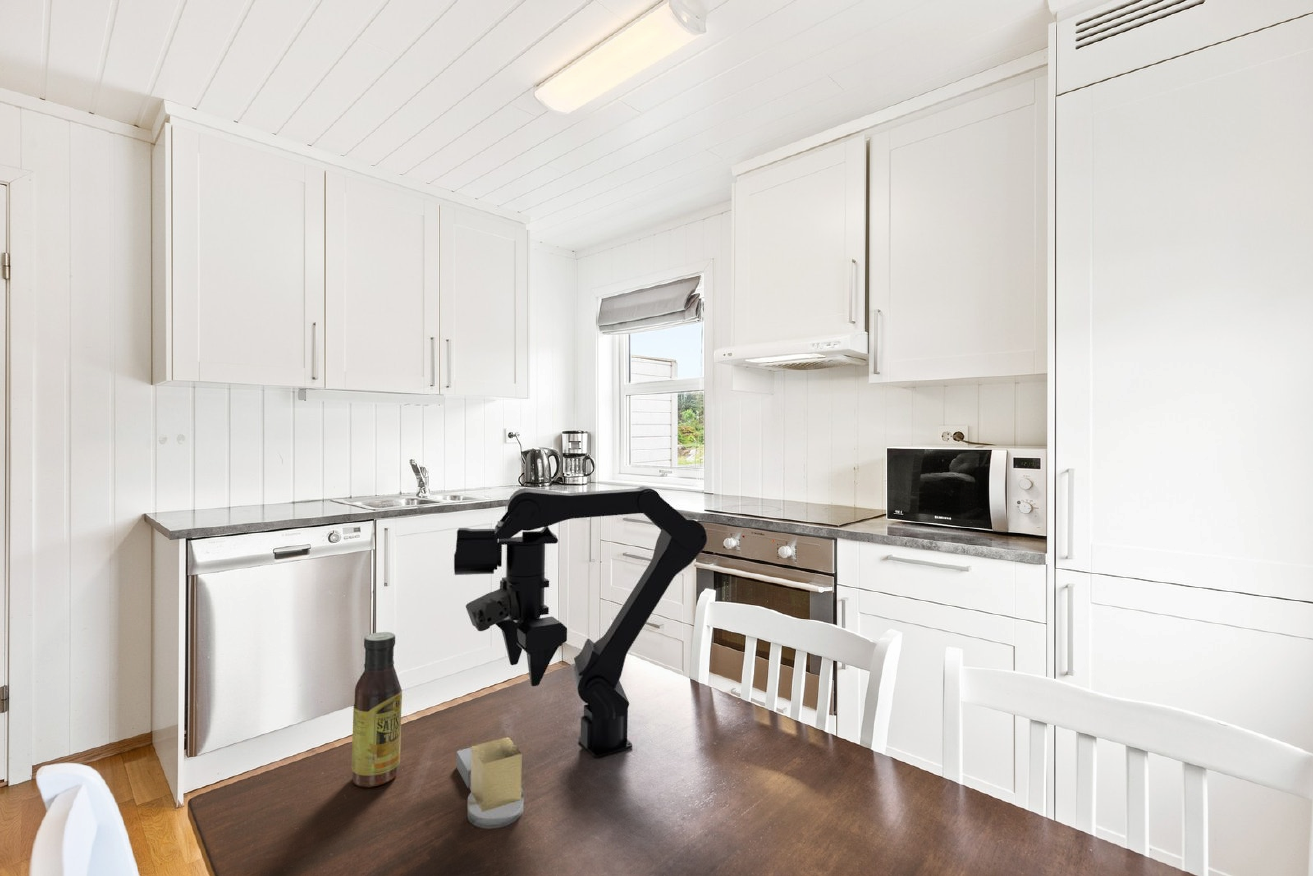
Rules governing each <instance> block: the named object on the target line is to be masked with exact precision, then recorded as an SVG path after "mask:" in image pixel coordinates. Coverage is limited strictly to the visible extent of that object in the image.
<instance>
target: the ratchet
mask: <svg viewBox="0 0 1313 876" xmlns="http://www.w3.org/2000/svg"><path fill="white" fill-rule="evenodd" d="M455 764H456V769H457V771H458V772H459V775H460V776H461V779H462V780H463V782H464V784H465V785H466V787H467V789H468V788H469V790H470V791H471V747H468V748H464V749H459V750H457V751H456V763H455ZM524 796H525V795H524V789H523V788H522V787H521V800H519V801H516V802H513V803H509V804H506V805H503V806H500V807H497V808H494V809H490V810H487V811H484V812H482V811H481V809H480V807H479V805H478V804H477V802H476V800H475V798H474V796H473V795H472V793H471V792H470V793H469V794H468V797H467V819H468V821H469V823H470V824H471V825H473V826H475V827H478V828H481V829H488V830H489V829H490V830H491V829H498V828H503V827H506V826H508V825H511V824H513V823H514V822H515V821H518V820H519V818H520V817H521V816H522V814H523V812H524V800H525V798H524Z"/></svg>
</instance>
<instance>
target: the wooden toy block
mask: <svg viewBox="0 0 1313 876" xmlns="http://www.w3.org/2000/svg"><path fill="white" fill-rule="evenodd" d="M470 748H471V790H470V793H472V795H473V796H474V798H475V800H476V802H477V804H478V805H479V807H480V809H481V811H482V812H484V811H487V810H490V809H494V808H497V807H500V806H503V805H506V804H509V803H513V802H516V801H519V800H521V788H522V763H523V762H522V757H523V756H522V755H523V754H522V753H523V752H521V751H520V749H519V748H518V747H517V745H516V744H515V743H514V741H512V739H511V738H510V736H506V737H503V738H499V739H498V738H497V739H494V740H491V741H488V742H484V743H478V744H476V745H472V746H471V747H470Z"/></svg>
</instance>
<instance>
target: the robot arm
mask: <svg viewBox="0 0 1313 876" xmlns="http://www.w3.org/2000/svg"><path fill="white" fill-rule="evenodd" d="M506 508H507V509H506V513H505V514H504V515H503V516H502V517H501V518H500V520H498V521H497V524H496V525H495V527H494V528H469V527H459V528H458V529H457V531H456V541H455V542H456V545H455V552H454V554H453V555H454V556H453V565H454V566H453V570H454V571H453V572H454V576H459V575H461V576H463V575H465V576H467V575H468V576H469V575H493V574H495V570H498V567H499V568H501V567H502V557H503V550H502V549H503V545H504V546H505V545H506V558H505V559H506V567H505V568H506V572H505V573H506V574H505V577H501V580H499V581H500V582H499V588H498V589H496V590H493V591H491V592H489V593H486V594H483V595H482V596H480V597H477V598H476V599H474V600H472V601H470V602H467V604H465V608H466V611H467V614H468V616H469V619H470V622H471V624H472V626H473V627H475V629H476V630H477V632H484V631H486V630H489V629H490V627H491V626H493V625H496V627H498V628H499V629H500V631H501V634H502V637H503V641H504V644H505V648H506V649H505V650H506V652H507V657H508V661H509V665H511V666H516V665H518V663H519V661H520V658H521V654H522V651H524V652H525V653H526V659H527V667H528V674H529V675H528V677H529V682H530V686H531V687H536V686H539V685H540V683H541V681H542V679H543V677H544V676H545V674H546V671H547V669H548V667H549V665H550V663H551V661H552V659H553V658H554V656H555V654H556V653H557V651H558V649H559V647H561V646H563V644H565V643H567V641H568V628H567V626H565V625H564V623H562V622H561V621H560V620H558V618H557V619H556V618H555V617H554V616H545V615H549V612H550V610H549V609H550V607H548V606H547V605H545V588H550V579H548V578H546V576H545V574H546V572H545V571H546V570H545V568H546V567H545V566H546V545H551V544H553V545H554V544H557V543H558V542H559V540H558V537H557V535H556V534H555V533H554V532H552V531H551V530H550V527H549V526H552V525H555V524H559V523H562V522H564V521H568V520H574V519H585V518H597V517H611V516H626V515H637V514H643V515H644V516H645V517H647V519H648V520H650V521H651V523H653V524H654V525H655V526H656V527H657V528H658V529H659V530H660V532H659V535H658V537H657V539H656V542H655V546H654V551H653V555H652V558H651V560H650V563H649V564H648V566H647V567H646V569H645V570H644V572H643V574H642V575H641V577H640V578H639V580H638V581H637V583H636V585H634V586H635V587H633V589H632V591H631V592H630V594H629V596H628V598H627V599H626V601H625V602H624V603H623V606H622V607H621V609H620V610H619V612H618V613H617V615H616V616H615V618H614V620H613V621H612V623H611V625H610V626H609V627H608V629H607V631H606V632H605V634H604V635H603V636H602V637H600V638H599V639H598V640H597V641H595V642H594V641H593V640H592V639H590V638H587V639H586V641H585V642H584V644H583V647H582V649H581V651H580V652H579V654H578V655H576V656H575V657H574V658H573V661H574V667H573V670H572V671H573V678H574V683H575V686H576V689H577V693H578V696H579V697H580V699H581V701H582V702H584V703H585V704H584V705H583V715H582V716H581V717H580V736H579V737H578V742H580V743H581V745H583V747H584V748H585V749H586V750H587V751H588V752H589V753H590V754H591V755H592V756H593V757H594V758H597V759H599V758H602V757H605V756H609V755H612V754H615V753H620V752H621V751H625V750H628V749H632V748H633V743H632V742H631V741H630V739H628V726H629V725H628V724H629V723H628V718H629V716H628V715H629V714H628V713H629V706H630V702H629V700H628V697H627V695H626V692H625V690H624V687H623V686H622V685H623V684H621V681H620V679H621V677H622V673H623V669H624V666H625V661H626V657H627V654H628V653H629V650H630V649H631V647H632V645H634V643H635V641H636V640H637V638H638V636H639V634H640V633H641V632H642V630H643V628H644V626H645V625H646V624H647V621H648V620H649V618H650V617H651V615H652V613H653V612H654V610H655V609H656V607H657V605H658V604H659V602H660V601H661V600H662V598H663V596H664V594H665V593H666V591H667V590H668V587H669V586H670V585H671V583H672V582H673V579H675V577H676V576H677V575H678V574H679V573H681V572H682V571H683V570H684V569H686V568H687V567H689V566H690V565H691V564H692V563H693V562H694V561H695V559H696V558H697V557H698V556H699V555H700V554H701V553H702V551H703V550H704V549H705V547H706V545H707V542H708V536H707V531H706V529H705V527H704V525H703V524H701V523H700V521H697V520H695V519H693V518H692V517H690V516H687V515H686V514H681V513H680V512H679V511H677V510H676V508H674V507H673V506H672V505H670V503H668V502H667V501H666V500H665V499H664V498H662V497H661V496H660V494H659V492H657V490H655V489H653V488H651V487H648V486H643V485H642V486H640V487H636V488H624V489H622V488H621V489H611V490H607V489H606V490H594V491H582V492H581V491H579V492H560V491H555V490H548V489H541V488H539V489H538V488H529V487H527V488H526V487H523V488H520V489H517V490H516V491H514V492H513V494H511V496H510V497H509V499H508V501H507V507H506ZM541 528H542V529H541ZM538 529H541V530H538ZM534 530H537V531H534ZM520 532H522V534H521V536H516V535H517V534H519V533H520ZM541 616H545V617H541Z"/></svg>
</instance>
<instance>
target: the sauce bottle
mask: <svg viewBox="0 0 1313 876" xmlns="http://www.w3.org/2000/svg"><path fill="white" fill-rule="evenodd" d="M395 645H396V634H394V633H393V632H390V631H389V632H388V631H383V632H382V631H381V632H374V633H370V634H368V635H365V636H364V639H363V647H364V649H365V650H364V651H365V653H364V655H365V657H364V664H363V666H364V667H363V668H364V670H363V673H362V674H361V675H360V676H359V678H358V680H357V683H356V684H355V689H354V704H353V710H352V711H353V712H352V713H353V715H352V743H351V767H350V769H351V772H352V782H353V784H355V785H356V786H358V787H364V788H373V787H377V786H382V785H384V784H386V783H388V782H390V781H392V780H394V779H395V778H396V776H397V775H398V772H399V768H400V767H399V766H400V764H401V763H400V762H401V744H402V743H401V742H402V741H401V740H402V738H401V737H402V736H401V735H402V733H401V732H402V701H403V700H402V699H403V690H402V687H401V683H400V681H399V678H398V675H397V671H396V668H395V665H394V664H395V661H394V650H395Z"/></svg>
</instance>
